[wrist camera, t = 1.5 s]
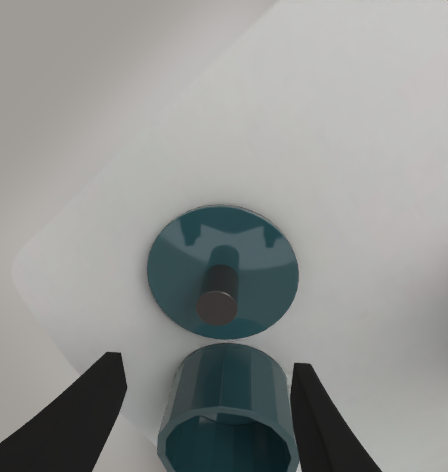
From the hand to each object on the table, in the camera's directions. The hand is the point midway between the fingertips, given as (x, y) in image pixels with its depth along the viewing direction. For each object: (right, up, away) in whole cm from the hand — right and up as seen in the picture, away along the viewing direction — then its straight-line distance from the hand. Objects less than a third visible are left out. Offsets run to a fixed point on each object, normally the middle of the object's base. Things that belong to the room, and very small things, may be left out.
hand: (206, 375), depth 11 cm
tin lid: (+1, +3, +8) cm, 8 cm away
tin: (+1, -7, +12) cm, 14 cm away
